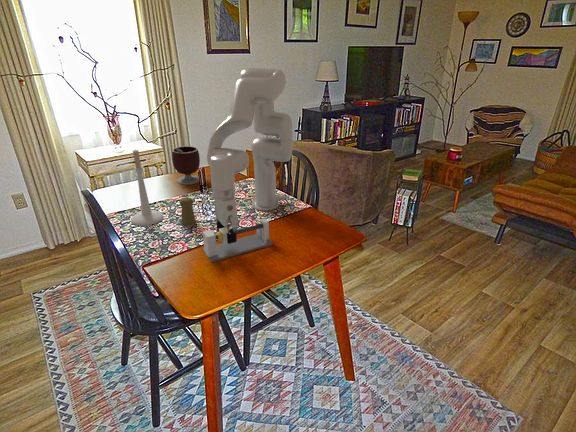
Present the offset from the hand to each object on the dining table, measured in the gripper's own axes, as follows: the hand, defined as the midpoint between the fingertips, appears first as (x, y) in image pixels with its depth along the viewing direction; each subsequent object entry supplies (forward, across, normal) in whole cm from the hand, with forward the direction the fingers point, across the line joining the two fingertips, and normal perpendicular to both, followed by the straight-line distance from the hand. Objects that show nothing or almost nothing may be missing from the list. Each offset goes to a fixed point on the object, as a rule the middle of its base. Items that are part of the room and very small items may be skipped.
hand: (226, 236), depth 125 cm
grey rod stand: (+6, 0, -4) cm, 7 cm away
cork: (+6, +28, +6) cm, 29 cm away
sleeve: (+1, 0, 0) cm, 1 cm away
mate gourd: (+6, +76, -8) cm, 77 cm away
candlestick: (+6, +40, +20) cm, 45 cm away
